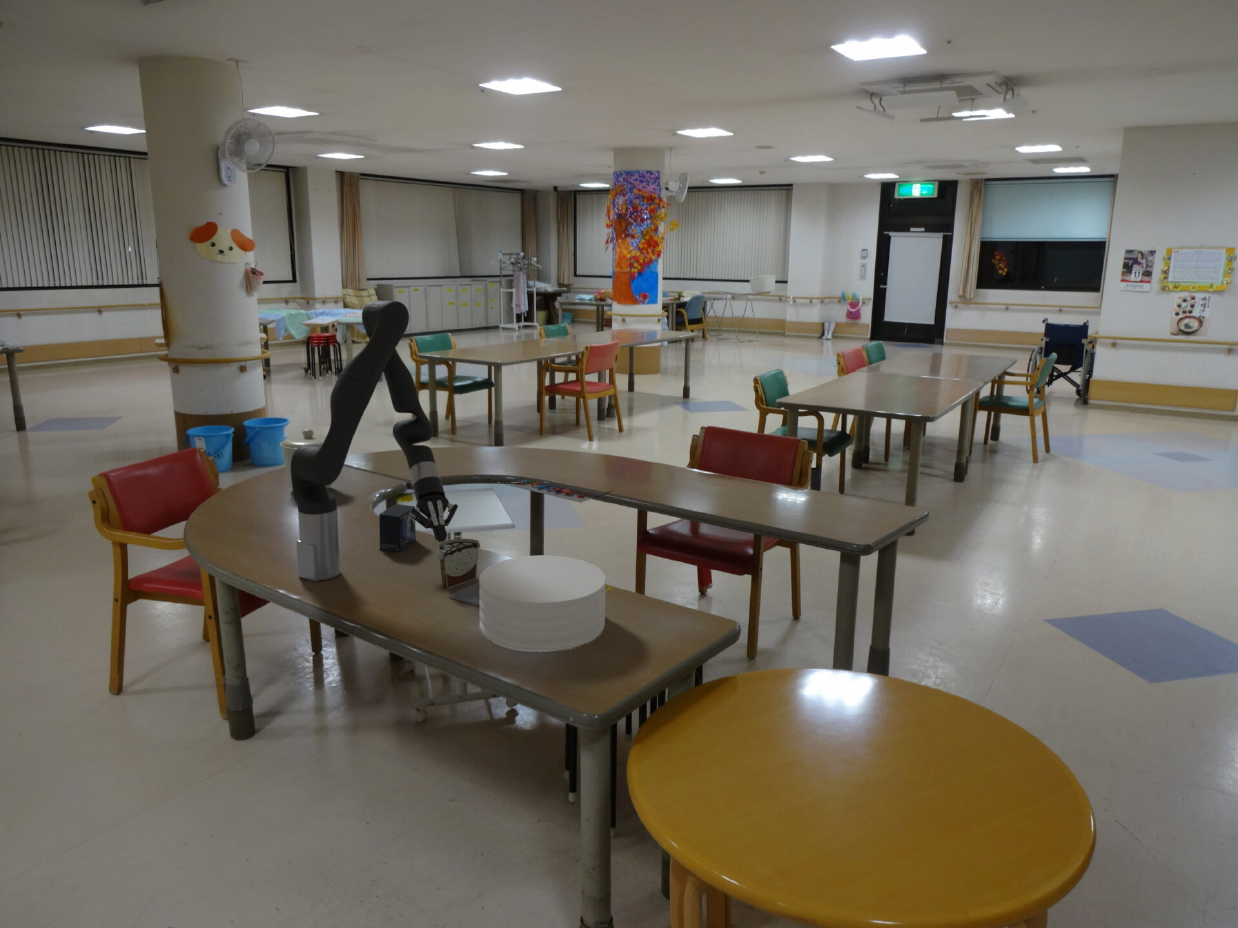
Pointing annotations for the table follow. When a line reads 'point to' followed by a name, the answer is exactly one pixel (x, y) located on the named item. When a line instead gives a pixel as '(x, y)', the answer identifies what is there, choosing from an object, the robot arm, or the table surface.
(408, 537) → the small box
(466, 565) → the cake slice
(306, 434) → the canister
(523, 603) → the plate stack
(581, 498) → the gear board
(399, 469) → the table surface
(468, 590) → the rubber mat
